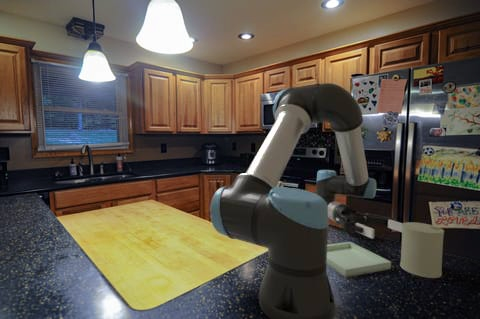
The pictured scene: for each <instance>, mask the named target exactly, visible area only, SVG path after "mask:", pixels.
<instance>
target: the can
mask: <svg viewBox="0 0 480 319" xmlns="http://www.w3.org/2000/svg"><path fill="white" fill-rule="evenodd" d="M444 235H445V230H444V229H443V228H442V227H439V226H436V225H433V224H429V223H428V224H427V223H424V222H415V221H413V222H412V221H410V222H408V221H407V222H403V224H402V232H401V250H400V263H399V266H400V267H401V269H402V270H404V271H406V272H407V273H409V274H411V275H414V276H417V277H422V278H427V279H438V278H441V277H442V275H443V270H442V264H443V249H444Z"/></svg>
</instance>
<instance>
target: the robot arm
mask: <svg viewBox="0 0 480 319" xmlns="http://www.w3.org/2000/svg"><path fill="white" fill-rule="evenodd" d="M272 114H273V118H274V123H273V124H272V127H271V129H270V130H269V132H268V134H267V136H266V137H265V139H264V141H263V142H262V144H261V146H260V148H259V150H258V151H257V153H256V155H255V156H254V158H253V160H252V162H251V163H250V164H249V167H248V168H247V170H246V171H245V173H240V174H238V175H237V176H236V177H235V179H234V180H233V181H232V184H231V185H230V186H227V185H224V186H223V187H220V188H218V189H217V190H216V191H215V192H214V194H213V196H212V197H211V198H212V199H211V203H210V206H209V212H210V220H211V224H212V226H213V228H214V229H215V231H216V232H217V233H219V234H220V235H223V236H226V237H228V238H230V239H232V240H238V241H242V242H245V243H249V244H253V245H255V246H259V247H262V248H266V249H267V250H268V251H267V267H266V269H265V272H264V275H263V278H262V280H261V284H260V285H259V289H258V290H259V291H258V304H259V307H260V309H261V311H262V312H263V313H264V314H265V315H266V317H268V318H269V319H333V318H334V317H335V308H336V307H335V304H336V302H335V296H334V294H333V288H332V286H331V283H330V280H329V277H328V276H329V275H328V273H327V265H326V263H327V245H328V236H329V235H328V234H329V229H328V228H329V225H330V221H333V222H334V223H335V224H338V225H339V226H340V227H341V228H342V229H343V230H344V231H345V232H348V231H349V232H350V234H355V233H358V234H361V235H362V236H365V237H367V238H369V239H375V229H374V228H372V227H369V226H368V225H369V224H371V225H376V226H383V227H387V228H388V229H389V230H390V229H391V230H394V231H396V232H400V233H402V224H403V223H404V222H403V223H402V222H399V221H396V220H395V219H394V218H393V217H392V216H382V215H379V214H372V213H368V212H363V213H361V212H357V211H356V209H355V208H354V207H353V206H351V205H349V204H345V203H341V202H339V201H336V195H339V196H347V197H355V198H361V199H364V198H365V199H374V198H375V196H376V193H377V181H376V179H375V178H372V177H369V173H368V167H367V166H368V165H367V160H366V154H365V149H364V148H365V147H364V142H363V135H362V128H361V126H362V125H363V122H364V119H363V118H364V117H363V113H362V109H361V107H360V104H359V103H358V101H357V100H356V98H355V97H354V96H353V95H352V93H350V92H349V91H348V90H347V89H345V88H344V87H343V86H340V85H339V84H335V83H330V82H329V83H328V82H327V83H321V84H314V85H313V84H312V85H306V86H297V87H296V86H295V87H288V88H285V89H281V90H280V91H279V92H278V93H277V94H276V95H275V98H274V100H273V105H272ZM318 123H322V124H323V123H327V124H329V127H330V129H331V130H332V131H333V132H334V133H335V138H336V141H337V146H338V149H339V150H338V151H339V155H340V158H341V162H342V167H343V170H344V175H337V171H335V170H332V169H320V170H318V171H317V173H316V188H315V189H316V193H314V192H312V191H309V190H305V189H300V188H296V187H295V188H294V187H292V188H291V187H286V186H279V187H277V186H278V184H279V182H280V179H281V177H282V176H283V173H284V171H285V169H286V167H287V164H288V163H289V160H290V159H291V157H292V154H293V153H294V149H295V148H296V146H297V144H298V142H299V139H300V137H301V135H303V134H305V133H307V132H308V131H309V130H310V129H311V125H312V124H318ZM366 225H367V226H366Z"/></svg>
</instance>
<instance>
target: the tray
mask: <svg viewBox="0 0 480 319" xmlns="http://www.w3.org/2000/svg"><path fill="white" fill-rule="evenodd" d="M326 266H328V267H329V268H331V269H333V270H334V271H335V273H336V272H337V273H338V274H340V276H342V277H344V278H351V277H355V276H361V275H367V274H372V273H377V272H382V271H387V270H391V269H392V261H390V260H388V259H387V258H384V257H382V256H380V255H378V254H376V253H374V252H372V251H371V250H368V249H367V248H364V247H362V246H360V245H358V244H356V243H354V242H352V241H346V242H338V243H329V244H327V263H326Z"/></svg>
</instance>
